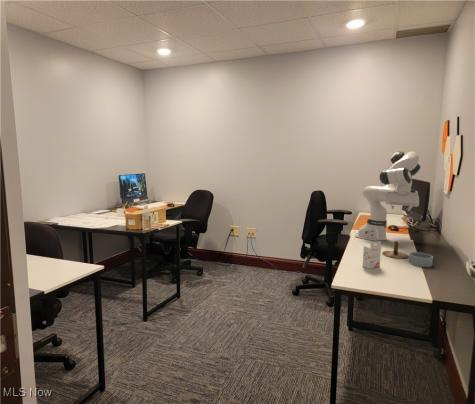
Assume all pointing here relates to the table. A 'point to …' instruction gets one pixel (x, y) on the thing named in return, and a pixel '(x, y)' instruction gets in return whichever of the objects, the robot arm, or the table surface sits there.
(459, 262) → the table surface
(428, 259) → the bowl
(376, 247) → the ink cartridge box
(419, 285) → the table surface
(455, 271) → the table surface
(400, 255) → the lid
